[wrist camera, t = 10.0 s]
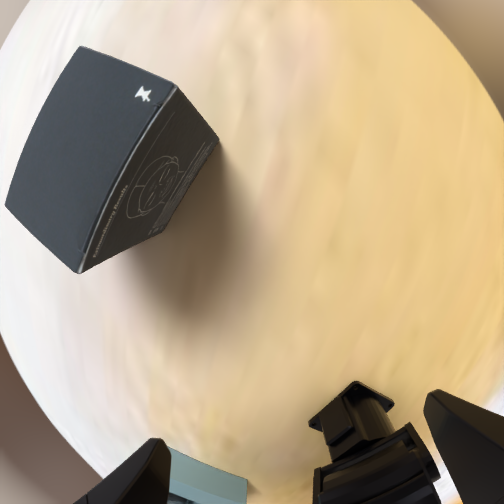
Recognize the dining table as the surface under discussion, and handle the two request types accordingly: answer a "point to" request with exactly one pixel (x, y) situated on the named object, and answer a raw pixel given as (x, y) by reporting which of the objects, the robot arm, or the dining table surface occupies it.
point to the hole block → (204, 482)
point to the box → (106, 160)
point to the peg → (176, 499)
